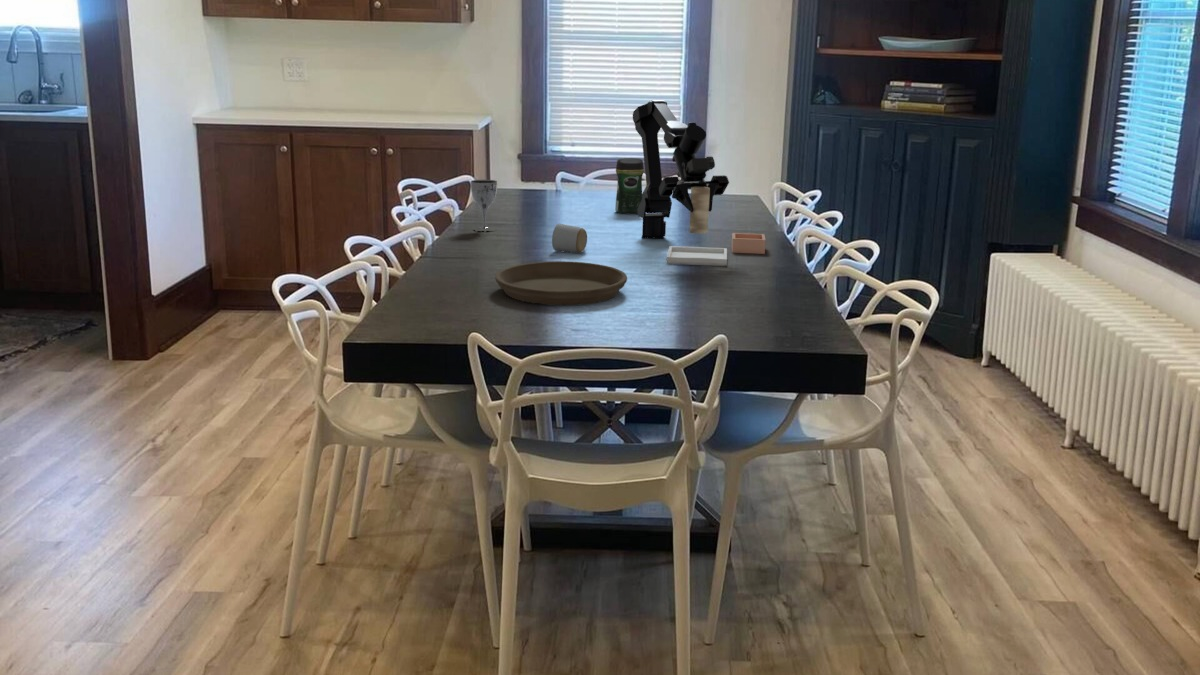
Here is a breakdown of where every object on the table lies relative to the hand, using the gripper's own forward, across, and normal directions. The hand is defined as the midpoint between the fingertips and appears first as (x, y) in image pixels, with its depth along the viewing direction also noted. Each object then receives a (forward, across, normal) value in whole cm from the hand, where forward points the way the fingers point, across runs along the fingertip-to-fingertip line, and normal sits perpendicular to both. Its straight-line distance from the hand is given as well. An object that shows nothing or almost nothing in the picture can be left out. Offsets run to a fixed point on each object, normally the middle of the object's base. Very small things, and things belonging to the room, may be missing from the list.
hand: (701, 211), depth 297 cm
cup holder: (+4, +18, +15) cm, 24 cm away
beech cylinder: (+3, 0, +5) cm, 6 cm away
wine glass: (-32, -46, +51) cm, 76 cm away
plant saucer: (+29, -47, -10) cm, 57 cm away
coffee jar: (-48, +9, +68) cm, 83 cm away
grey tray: (+9, 0, +10) cm, 13 cm away
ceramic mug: (-5, -30, +24) cm, 39 cm away
